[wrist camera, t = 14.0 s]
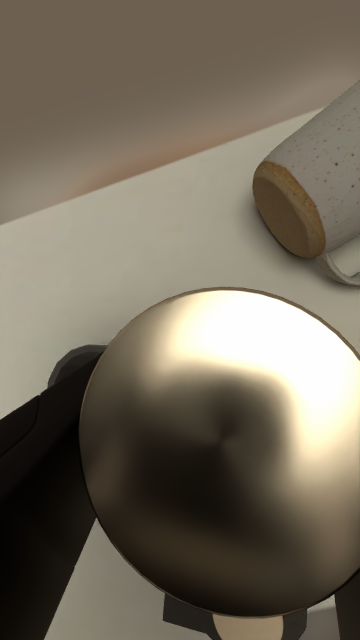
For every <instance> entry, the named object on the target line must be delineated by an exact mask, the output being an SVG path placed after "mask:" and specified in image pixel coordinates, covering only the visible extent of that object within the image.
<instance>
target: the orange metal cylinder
mask: <svg viewBox="0 0 360 640" xmlns="http://www.w3.org/2000/svg"><path fill="white" fill-rule="evenodd" d="M78 449H79V458H80V467H81V472H82V476H83V481H84V485H85V489H86V492H87V495H88V498H89V500H90V503H91V506H92V508H93V510H94V513H95V515H96V517H97V519H98V521H99V523H100V525H101V527H102V528H103V530H104V532H105V533H106V535H107V536H108V538H109V540H110V541H111V543H112V544H113V545H114V547H115V548H116V549H117V550H118V552H119V553H120V554H121V556H122V557H123V558H124V559H125V560H126V561H127V562H128V563H129V564H130V565H131V566H132V567H133V568H134V569H135V570H136V571H137V572H138V573H139V574H140V575H141V576H142V577H143V578H145V579H146V580H147V581H148V582H150V583H151V584H152V585H153V586H155V587H156V588H157V589H159V590H161V591H162V592H164V593H166V594H167V595H169V596H171V597H172V598H174V599H176V600H177V601H180V602H182V603H184V604H186V605H189V606H191V607H193V608H196V609H198V610H202V611H205V612H209V613H212V614H216V615H219V616H226V617H233V618H240V619H265V618H271V617H278V616H284V615H289V614H292V613H295V612H298V611H301V610H304V609H307V608H310V607H312V606H314V605H316V604H318V603H320V602H322V601H324V600H326V599H328V598H329V597H331V596H332V595H333V594H335V593H336V592H338V591H339V590H340V589H342V588H343V587H344V586H346V585H347V584H348V583H349V582H350V581H351V580H352V579H353V578H354V577H355V576H356V575H357V574H358V573H359V572H360V355H359V354H358V352H357V351H356V350H355V348H354V347H353V346H352V345H351V344H350V343H349V342H348V341H347V340H346V339H345V338H344V337H343V336H342V335H341V334H340V333H339V332H338V331H337V330H336V329H334V328H333V327H332V326H331V325H329V324H328V323H327V322H326V321H324V320H323V319H322V318H321V317H319V316H317V315H316V314H314V313H312V312H311V311H309V310H307V309H306V308H304V307H302V306H301V305H298V304H296V303H294V302H292V301H289V300H287V299H285V298H283V297H280V296H277V295H273V294H270V293H267V292H263V291H259V290H253V289H247V288H238V287H214V288H203V289H198V290H193V291H189V292H184V293H182V294H179V295H176V296H173V297H170V298H167V299H165V300H163V301H161V302H159V303H157V304H155V305H153V306H151V307H150V308H148V309H147V310H145V311H144V312H143V313H141V314H140V315H138V316H137V317H135V318H134V319H133V320H132V321H131V322H130V323H129V324H127V325H126V326H125V327H124V328H123V329H122V330H121V331H120V332H119V333H118V335H117V336H116V337H115V338H114V339H113V340H112V341H111V343H110V344H109V345H108V347H107V348H106V350H105V351H104V353H103V354H102V356H101V357H100V359H99V361H98V363H97V365H96V367H95V369H94V371H93V372H92V375H91V377H90V380H89V383H88V385H87V388H86V391H85V395H84V399H83V403H82V407H81V412H80V420H79V434H78Z"/></svg>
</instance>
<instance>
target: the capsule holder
mask: <svg viewBox="0 0 360 640" xmlns="http://www.w3.org/2000/svg"><path fill="white" fill-rule="evenodd" d="M107 347H108V345H85V346H82V347H79V348H76V349H73V350H71V351H70V352H68V353H67V354H66V355H65V356H64V357H63V358H62V359H61V360H60V361H59V362H58V363H57V364H56V366H55V368H54V370H53V372H52V374H51V376H50V378H49V380H48V388H49V387H51V386H52V385H54V384H55V383H57V382H58V381H60V380H61V379H63V378H64V377H65V376H67V375H68V374H70V373H71V372H73V371H74V370H76V369H77V368H79V367H80V366H82V365H83V364H85V363H86V362H88V361H89V360H91V359H92V358H94V357H95V356H97V355H98V354H100V353H101V352H103V351H104V350H106V348H107ZM48 388H47V389H48Z"/></svg>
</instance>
